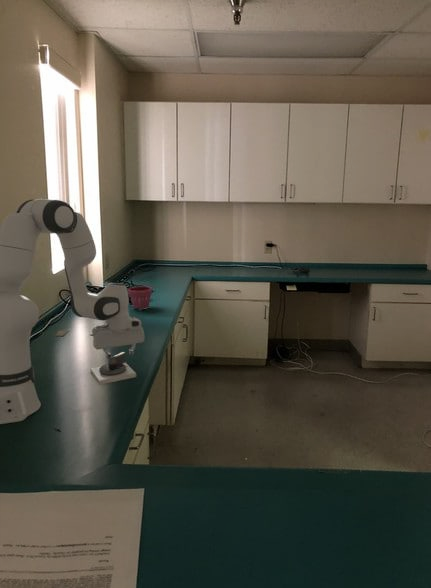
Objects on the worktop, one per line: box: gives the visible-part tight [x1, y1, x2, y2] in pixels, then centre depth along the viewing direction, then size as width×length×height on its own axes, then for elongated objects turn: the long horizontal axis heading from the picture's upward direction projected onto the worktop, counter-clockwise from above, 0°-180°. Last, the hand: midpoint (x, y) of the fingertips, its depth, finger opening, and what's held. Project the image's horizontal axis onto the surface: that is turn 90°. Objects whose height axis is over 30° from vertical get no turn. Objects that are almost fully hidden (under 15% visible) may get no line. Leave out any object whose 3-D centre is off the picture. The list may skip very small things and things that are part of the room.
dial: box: [99, 351, 127, 375], centre depth 173 cm, size 12×10×5 cm
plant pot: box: [127, 285, 153, 309], centre depth 273 cm, size 14×14×13 cm
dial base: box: [90, 362, 137, 385], centre depth 173 cm, size 14×14×2 cm
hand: (120, 356), depth 179 cm, fingers open, 8 cm apart
